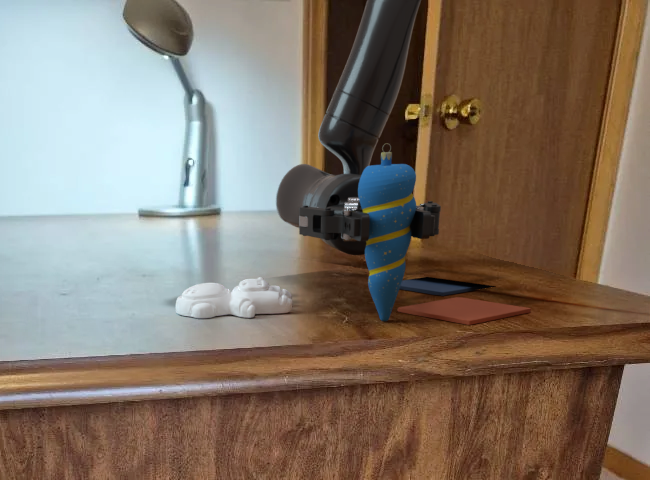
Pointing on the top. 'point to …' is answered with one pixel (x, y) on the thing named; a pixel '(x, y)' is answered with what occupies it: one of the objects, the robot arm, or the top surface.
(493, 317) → the terracotta pad
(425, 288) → the blue pad
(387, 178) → the ornament
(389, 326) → the top surface
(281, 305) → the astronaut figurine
